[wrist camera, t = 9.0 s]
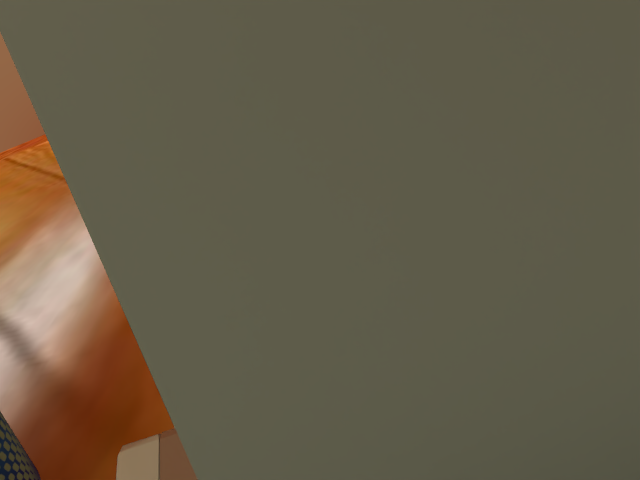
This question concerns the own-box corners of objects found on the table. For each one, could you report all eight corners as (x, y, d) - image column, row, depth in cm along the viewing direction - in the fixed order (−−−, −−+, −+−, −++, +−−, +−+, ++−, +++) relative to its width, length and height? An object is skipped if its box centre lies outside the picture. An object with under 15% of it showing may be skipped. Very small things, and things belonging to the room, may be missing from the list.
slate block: (427, 1000, 8) (-46, -74, 2) (333, 648, 13) (90, -39, 6) (720, 849, 9) (1030, -302, 3) (535, 564, 14) (493, -130, 7)
